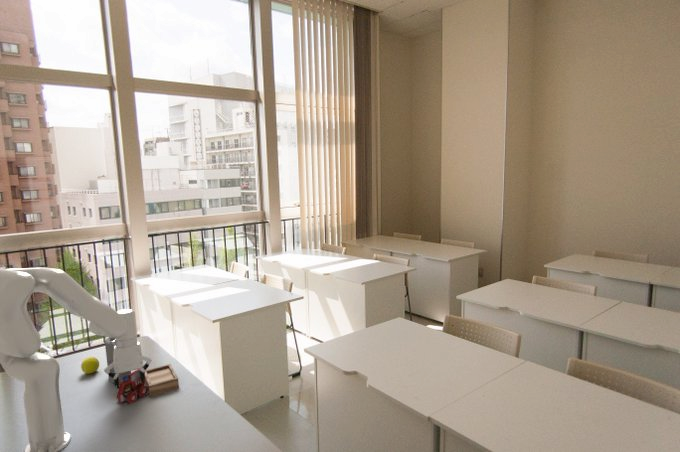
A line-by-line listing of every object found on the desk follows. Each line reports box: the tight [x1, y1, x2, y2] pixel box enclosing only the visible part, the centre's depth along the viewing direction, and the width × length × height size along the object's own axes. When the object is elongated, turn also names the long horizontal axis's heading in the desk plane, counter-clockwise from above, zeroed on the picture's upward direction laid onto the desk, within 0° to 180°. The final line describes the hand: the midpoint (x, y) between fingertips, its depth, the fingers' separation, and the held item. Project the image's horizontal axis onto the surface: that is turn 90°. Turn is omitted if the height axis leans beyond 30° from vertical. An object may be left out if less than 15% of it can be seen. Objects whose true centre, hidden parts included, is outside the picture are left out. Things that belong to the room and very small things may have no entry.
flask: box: [104, 337, 132, 386], centre depth 181 cm, size 15×6×20 cm, turn 50°
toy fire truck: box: [116, 369, 149, 404], centre depth 166 cm, size 7×12×10 cm, turn 157°
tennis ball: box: [80, 356, 100, 375], centre depth 190 cm, size 7×7×7 cm
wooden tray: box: [145, 363, 180, 397], centre depth 177 cm, size 16×11×4 cm
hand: (130, 383), depth 166 cm, fingers open, 8 cm apart
